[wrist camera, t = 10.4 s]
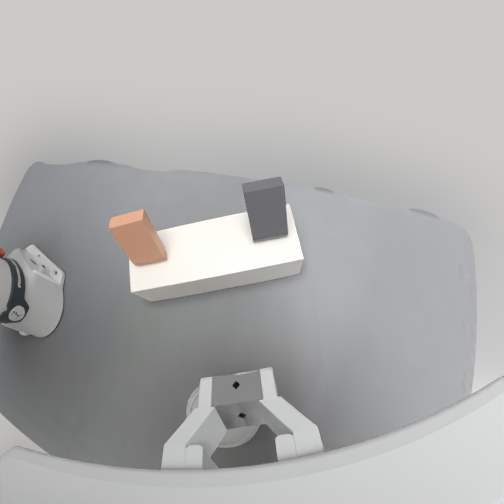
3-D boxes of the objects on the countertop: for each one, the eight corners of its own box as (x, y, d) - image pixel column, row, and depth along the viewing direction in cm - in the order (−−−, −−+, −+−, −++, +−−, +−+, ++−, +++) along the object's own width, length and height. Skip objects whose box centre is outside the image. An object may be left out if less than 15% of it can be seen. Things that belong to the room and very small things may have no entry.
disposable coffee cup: (219, 364, 45) (201, 366, 34) (274, 387, 43) (273, 398, 32) (196, 413, 42) (172, 429, 31) (249, 437, 40) (241, 462, 29)
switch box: (299, 274, 49) (303, 258, 42) (151, 302, 49) (130, 292, 42) (287, 224, 52) (288, 202, 45) (147, 253, 53) (128, 236, 45)
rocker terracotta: (166, 262, 42) (142, 219, 35) (136, 268, 42) (108, 228, 35) (167, 252, 44) (143, 209, 36) (137, 258, 44) (111, 217, 36)
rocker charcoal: (288, 238, 42) (284, 185, 35) (253, 245, 42) (243, 192, 35) (285, 228, 43) (280, 176, 37) (252, 235, 44) (241, 183, 37)
